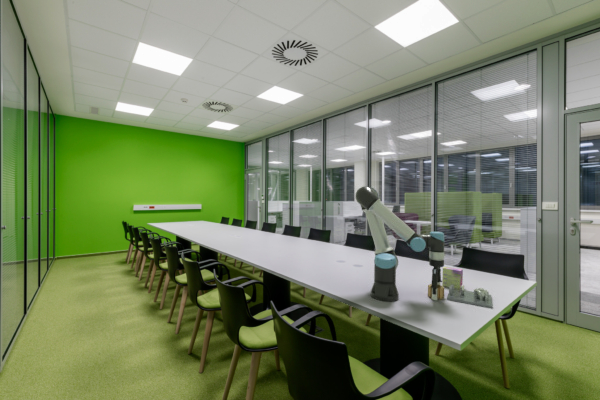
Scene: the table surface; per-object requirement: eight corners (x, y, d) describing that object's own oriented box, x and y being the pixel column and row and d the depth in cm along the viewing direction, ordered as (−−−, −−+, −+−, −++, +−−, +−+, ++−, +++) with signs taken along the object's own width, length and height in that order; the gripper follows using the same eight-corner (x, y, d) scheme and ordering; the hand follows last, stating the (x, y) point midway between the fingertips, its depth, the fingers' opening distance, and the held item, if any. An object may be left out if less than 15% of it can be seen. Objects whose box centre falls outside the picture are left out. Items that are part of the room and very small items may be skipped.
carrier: (446, 299, 152) (447, 288, 152) (450, 289, 169) (450, 279, 169) (492, 308, 141) (492, 296, 141) (491, 297, 158) (491, 286, 158)
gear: (426, 297, 155) (427, 286, 155) (429, 293, 162) (429, 283, 162) (443, 300, 151) (443, 289, 151) (444, 296, 157) (445, 285, 157)
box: (462, 287, 174) (462, 269, 174) (460, 289, 170) (460, 270, 170) (444, 284, 181) (445, 266, 181) (442, 286, 177) (442, 267, 177)
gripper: (441, 263, 144) (440, 304, 144) (446, 256, 164) (445, 291, 164) (425, 261, 148) (425, 301, 148) (432, 254, 169) (432, 289, 169)
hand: (436, 296), depth 156 cm, fingers open, 12 cm apart
